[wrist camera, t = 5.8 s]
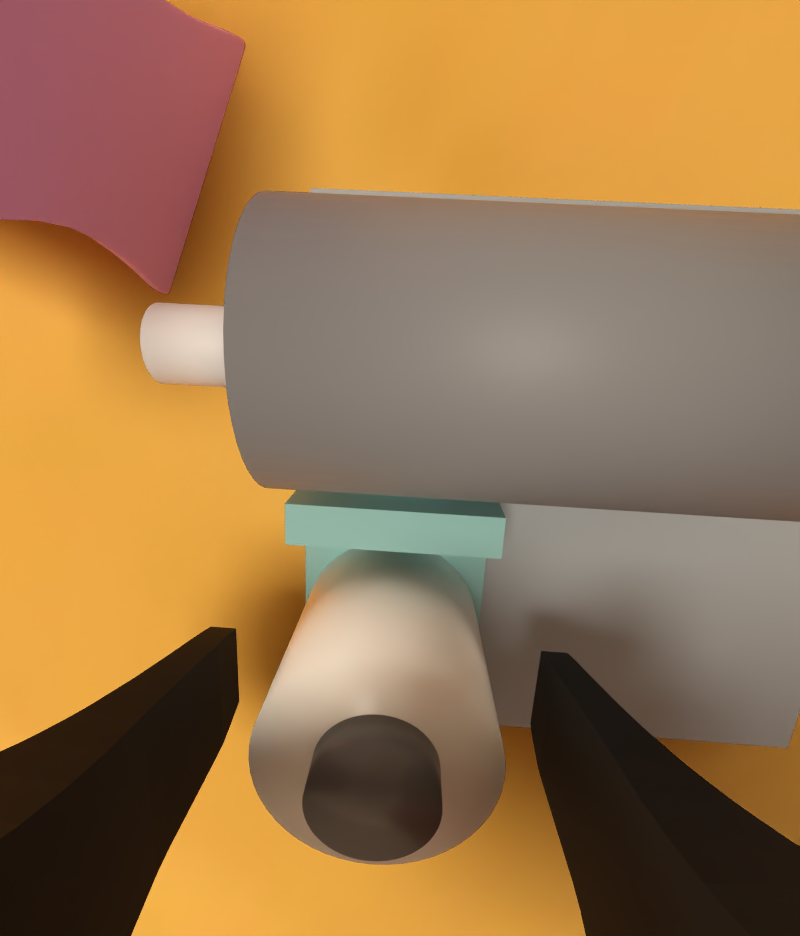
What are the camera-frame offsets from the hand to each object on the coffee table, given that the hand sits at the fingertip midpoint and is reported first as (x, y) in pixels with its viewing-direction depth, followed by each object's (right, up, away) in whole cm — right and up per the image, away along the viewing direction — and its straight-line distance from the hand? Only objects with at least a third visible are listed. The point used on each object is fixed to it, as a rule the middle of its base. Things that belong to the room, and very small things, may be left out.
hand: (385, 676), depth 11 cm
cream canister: (0, +1, +3) cm, 3 cm away
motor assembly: (+4, +4, +3) cm, 6 cm away
